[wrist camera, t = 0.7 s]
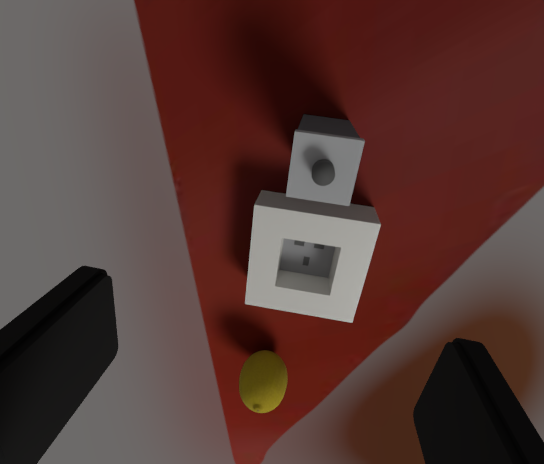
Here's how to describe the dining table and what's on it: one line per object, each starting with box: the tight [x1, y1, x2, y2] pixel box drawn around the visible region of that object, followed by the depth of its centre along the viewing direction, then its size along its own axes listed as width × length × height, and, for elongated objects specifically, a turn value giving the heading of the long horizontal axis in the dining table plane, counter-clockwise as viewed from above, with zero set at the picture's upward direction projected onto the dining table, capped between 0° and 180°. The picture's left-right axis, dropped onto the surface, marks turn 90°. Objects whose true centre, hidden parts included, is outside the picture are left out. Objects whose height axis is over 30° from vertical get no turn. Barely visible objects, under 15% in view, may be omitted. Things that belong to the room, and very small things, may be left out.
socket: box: [245, 190, 381, 323], centre depth 33 cm, size 11×11×4 cm
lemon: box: [239, 350, 287, 413], centre depth 38 cm, size 6×6×8 cm
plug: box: [286, 114, 365, 206], centre depth 25 cm, size 4×4×11 cm
